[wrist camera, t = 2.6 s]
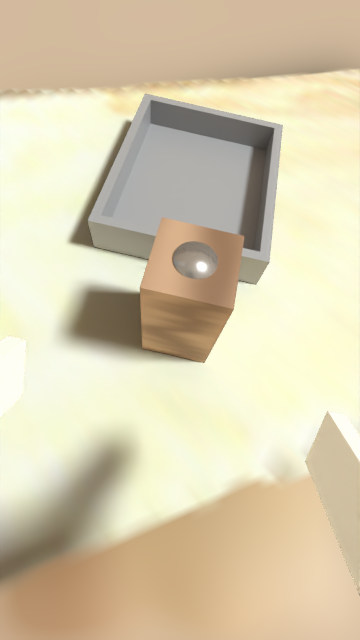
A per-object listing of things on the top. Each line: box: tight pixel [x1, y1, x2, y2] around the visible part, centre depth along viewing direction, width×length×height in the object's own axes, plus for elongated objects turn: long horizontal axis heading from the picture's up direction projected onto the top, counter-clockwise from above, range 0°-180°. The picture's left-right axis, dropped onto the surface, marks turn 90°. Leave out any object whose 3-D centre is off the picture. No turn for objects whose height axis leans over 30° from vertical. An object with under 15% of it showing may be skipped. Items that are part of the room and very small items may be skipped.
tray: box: [88, 94, 283, 284], centre depth 37 cm, size 18×22×4 cm
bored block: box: [140, 217, 245, 363], centre depth 26 cm, size 6×6×11 cm
